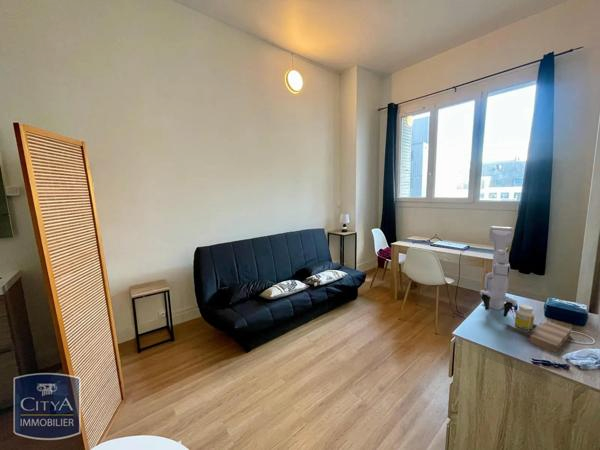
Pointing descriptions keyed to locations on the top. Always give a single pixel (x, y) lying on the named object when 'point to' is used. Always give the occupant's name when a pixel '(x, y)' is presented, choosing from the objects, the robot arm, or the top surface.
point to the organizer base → (546, 335)
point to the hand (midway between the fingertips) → (495, 312)
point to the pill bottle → (524, 318)
